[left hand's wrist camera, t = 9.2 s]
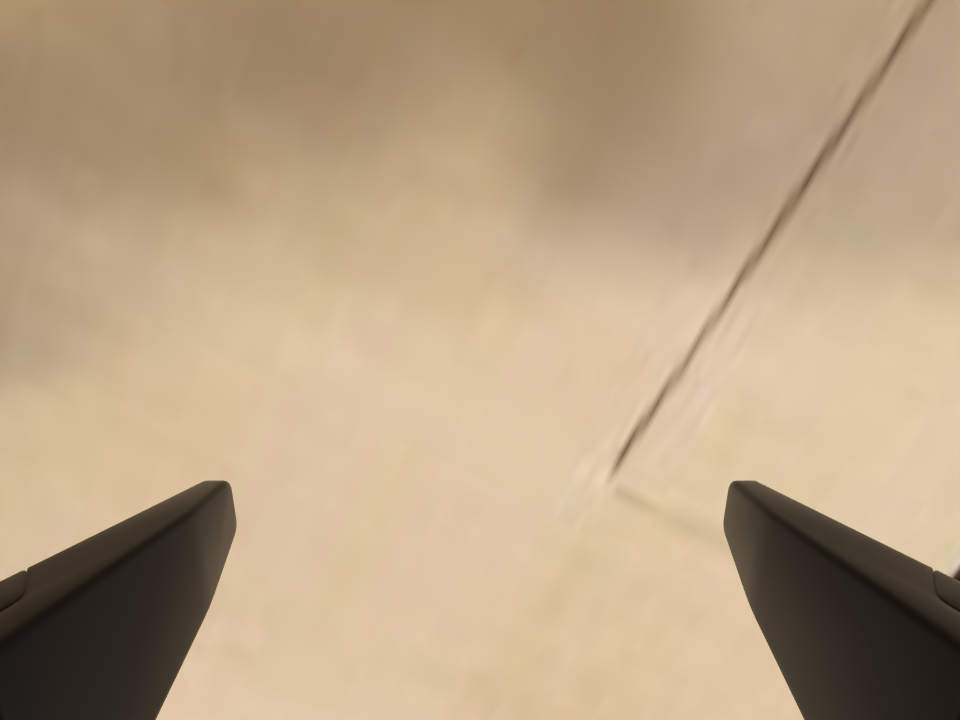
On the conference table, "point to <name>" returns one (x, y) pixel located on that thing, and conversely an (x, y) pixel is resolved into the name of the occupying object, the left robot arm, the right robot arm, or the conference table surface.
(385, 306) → the conference table surface
